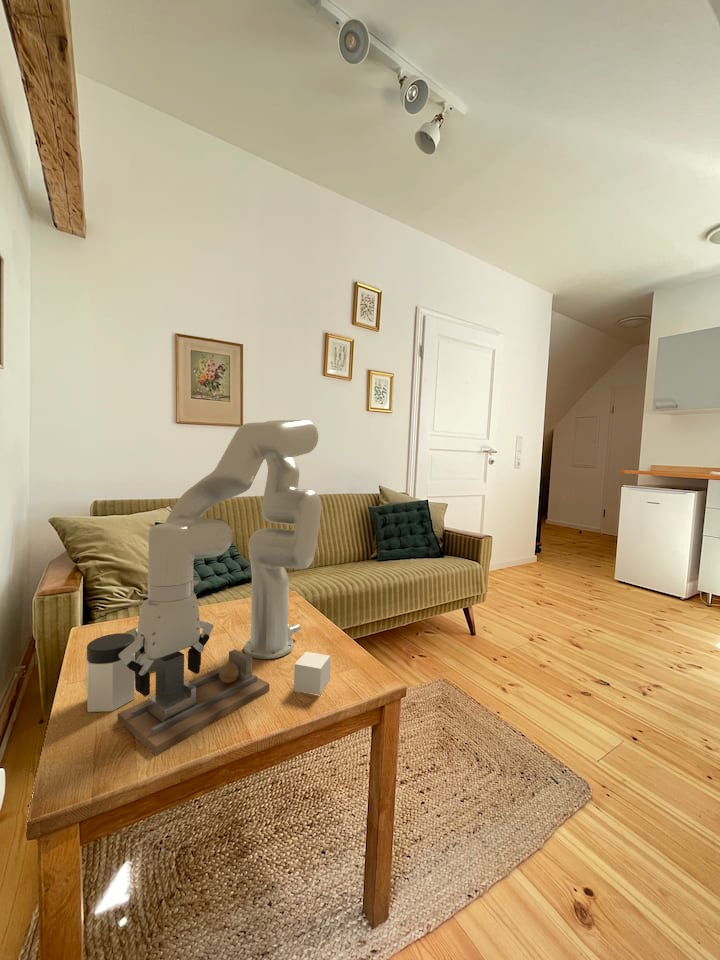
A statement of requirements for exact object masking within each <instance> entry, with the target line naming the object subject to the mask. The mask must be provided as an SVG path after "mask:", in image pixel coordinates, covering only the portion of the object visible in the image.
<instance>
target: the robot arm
mask: <svg viewBox="0 0 720 960" xmlns="http://www.w3.org/2000/svg"><path fill="white" fill-rule="evenodd" d="M318 442H319V431H318V429H317V426H316V425H315V424H314V423H313V422H312V421H311V420H307V419H290V420H289V419H280V420H278V419H276V420H267V421H263V422H262V421H261V422H248V423H244V424H242V425H241V426H239V427H238V428H237V430H236V432H234V435H233V436H232V439H231V440H230V442H229V443H228V445H227V447H226V449H225V450H224V453H223V455H222V456H221V458H220V460H219V461H218V463H217V465H216V467H215V468H214V470H212V472H210V473H209V474H207V475H206V476H205V477H203V478H202V479H200V480H198V482H196V483H195V484H194V485H193V486H191V487H190V488H189V489H187V490H186V491H185V492H184V493H183V494H182V495H181V496H180V497H179V498H178V499H177V502H176V503H175V504H174V505H173V508H171V510H170V513H169V515H168V516H167V518H166V520H165V522H164V523H159V524H155V525H153V526H152V527H150V529H149V531H148V554H147V555H148V556H147V557H148V558H147V559H148V560H147V564H148V565H147V568H148V569H147V572H148V573H147V574H148V575H147V579H148V580H147V599H145V600H143V601H142V604H141V608H140V612H139V616H138V618H139V619H138V622H137V623H138V624H137V627H138V630H137V639H136V640H135V641H134V642H133V643H131V644H130V645H129V646H128V647H127V648H125V649H124V650H123V651H122V652H120V653H119V658H120V659H121V661H122V662H123V663H124V664H125V666H126V667H128V668H129V669H131V670H132V671H134V672H135V691H136V692H137V693H140V695H142V696H143V697H149V695H150V693H151V674H150V673H148V672H147V670H148V669H149V667H150V666H151V664H152V663H153V661H154V660H156V659H159V658H162V657H165V656H167V655H170V654H173V653H175V652H178V651H179V652H181V651H183V650H186V649H188V651H187V670H188V671H190V672H191V673H194V674H196V675H198V674H200V671H201V665H202V652H203V651H204V649H205V645H206V644H207V643H208V641H209V640H210V635H211V634H212V631H213V629H214V624H213V623H210V622H208V621H203V620H201V619H200V610H199V602H198V598H197V596H196V595H197V594H196V593H195V592H194V589H195V588H194V587H196V586H198V585H199V584H200V581H199V579H198V578H194V561H195V560H196V559H208V558H217V557H219V556H222V554H225V553H226V552H227V551H229V549H230V547H231V545H232V543H233V540H234V534H233V530H232V528H231V527H230V526H229V524H227V523H226V522H225V521H223V520H221V519H220V520H219V519H214V518H205V517H203V515H204V514H205V513H206V512H207V511H208V510H209V509H210V508H212V507H214V506H216V505H217V504H219V503H221V502H223V501H226V500H229V499H232V498H234V497H237V496H239V495H242V494H244V493H246V492H247V491H248V490H250V488H251V487H252V485H253V483H254V480H255V479H256V476H257V474H258V472H259V470H260V468H261V466H262V465H263V462H264V460H265V461H266V464H267V475H266V482H265V487H264V491H263V492H264V493H263V497H262V504H261V516H262V517H263V519H264V520H265V521H267V522H269V523H272V524H281V525H288V526H289V525H291V526H294V530H293V529H285V528H278V527H277V528H276V527H275V528H274V527H263V528H260V529H257V530H256V531H253V533H252V534H251V535H250V537H249V540H248V545H247V547H248V549H247V550H248V552H247V553H248V556H249V561H250V562H249V563H250V570H251V571H250V572H251V595H250V596H251V600H250V601H251V604H250V606H251V607H250V608H251V609H250V639H248V640H247V641H246V642H245V644H244V649H243V650H244V651H243V652H244V654H246V655H248V656H250V657H252V659H253V658H254V659H261V660H270V659H271V660H272V659H277V658H281V657H283V656H286V655H287V654H289V653H290V652H291V651H292V650H293V649H294V640H293V639H292V638H291V636H293V634H295V633H297V632H300V630H301V625H300V624H298V623H296V624H295V625H292V626H291V625H290V624H289V594H290V592H289V590H290V580H289V575H288V573H287V571H286V568H287V569H293V570H294V569H295V570H305V569H307V568H308V567H310V566H311V565H312V563H313V560H314V558H315V554H316V551H317V550H316V549H317V545H318V544H317V543H318V538H319V537H318V536H319V531H320V523H321V516H322V515H321V514H322V503H321V502H322V501H321V499H320V497H319V496H320V495H318V494H317V492H315V491H314V490H312V489H311V490H310V489H307V488H305V489H304V488H299V481H300V468H299V466H298V464H297V462H296V460H295V458H296V457H299V456H303V455H306V454H307V455H308V454H310V453H312V452H313V451H314V450H315V448H316V447H317V445H318ZM201 629H202V631H201ZM135 652H137V653H139V654H141V655H140V656H139V657H138V659H137V660H136V662H135V661H134V660H133V659H132V656H133V654H134V653H135Z"/></svg>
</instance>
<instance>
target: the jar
mask: <svg viewBox="0 0 720 960" xmlns="http://www.w3.org/2000/svg"><path fill="white" fill-rule="evenodd" d="M134 641H135V638H134V636H133V635H131V634H126V633H125V632H123V633H122V632H120V633H118V632H117V633H112V634H106V635H102V636H99V637H96V638H95V639H93V640H91V641H90V642H89V643H88V644H87V645H86V665H87V666H86V705H87V706H86V707H87V708H86V709H87V713H97V712H98V713H100V712H102V713H103V712H105V713H106V712H114V711H115V710H117V709H119V708H121V707H122V706H124V705H126V704H128V703H129V702H131V701H133V700H135V697H136V696H135V691H136V688H135V672H134V671H132V670H131V669H129V668H128V667H126V666H125V664H124V663H123V662H122V661H121V659H120V658H119V653H120V652H122V651H123V650H124V649H125V648H127V647H128V646H129V645H130V644H131V643H133V642H134ZM132 659H133V660H134V661H135V653H134V654H133V656H132Z"/></svg>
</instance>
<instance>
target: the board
mask: <svg viewBox="0 0 720 960" xmlns="http://www.w3.org/2000/svg"><path fill="white" fill-rule="evenodd" d="M252 668H253V657H251V656H249V655H247V654H246V653H245V652H244V653H243V652H241V651H239V650H237V649H232V650H230V651H229V652H228V662H227V663H225V664H223V665H222V666H219V667H217V668H215V669H212V670H211V671H208V672H206V673H204V674H202V675H201V674H200V675H199V676H197V677H195V678H193V679H191V680H189V681H188V682H189V683H191V684H192V685H194V686H196V706H194V707H192V708H190V709H188V710H186V711H184V712H182V713H180V714H178V715H176V716H174V717H172V718H170V719H168V720H166V721H165V722H162V721H160V720H159V719H158V718H156V717H155V716H154V715H153V714H151V713H150V712H149V711H148V699H146V700H144V701H141V702H140V703H137V704H135V705H133V706H131V707H128V708H126V709H124V710H122V711H119V712H117V722H118V723H119V724H121V726H122V727H123V728H125V729H126V730H127V732H129V734H131V735H132V736H134V738H136V739H137V740H138V741H139V742H140V743H141V744H143V745H144V746H145V748H146V749H148V750H149V751H150V752H151V753H153V754H154V756H157V755H159V754H160V753H162V752H164V751H166V750H167V749H168V750H169V748H171V747H173V746H175V745H176V744H178V743H180V742H183V740H186V739H187V738H189V737H190V736H192V735H195V734H196V733H197V732H200V731H201V730H204V728H206V727H208V726H210V725H211V724H213V723H215V722H217V721H218V720H221V719H222V718H223V717H225V716H227V715H229V714H231V713H232V712H235V711H236V710H237V709H240V708H242V707H243V706H245V705H247V704H248V703H250V702H251V701H254V700H255V699H257V698H258V697H261V696H262V695H264V694H266V693H267V692H269V691H270V683H269V682H268V681H265V680H263V679H261V678H260V677H258V676H257V675H253V673H252V672H253V669H252Z"/></svg>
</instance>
